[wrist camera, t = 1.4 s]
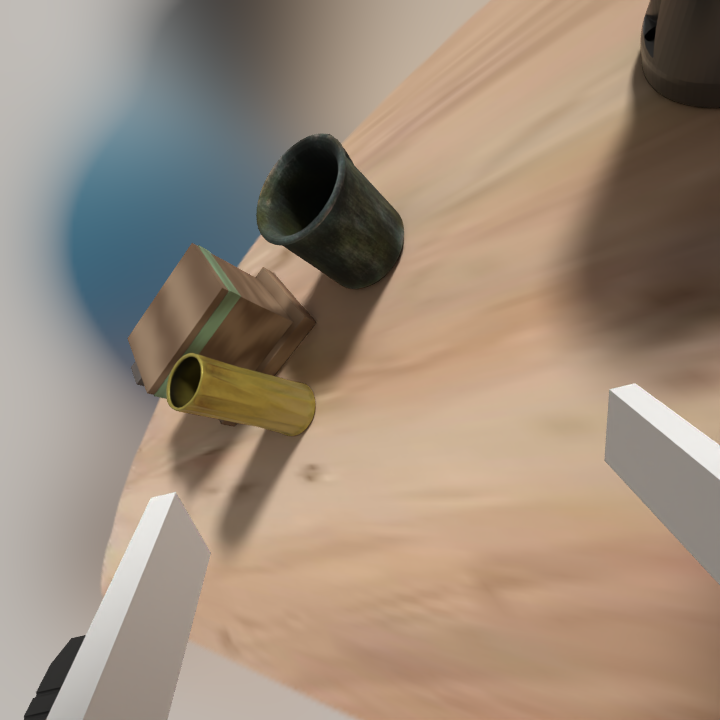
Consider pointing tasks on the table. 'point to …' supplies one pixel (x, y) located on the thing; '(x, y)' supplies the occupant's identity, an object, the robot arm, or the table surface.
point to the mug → (329, 213)
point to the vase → (239, 395)
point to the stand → (216, 321)
